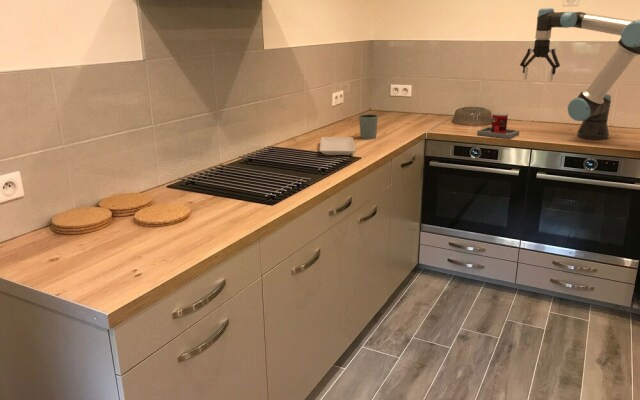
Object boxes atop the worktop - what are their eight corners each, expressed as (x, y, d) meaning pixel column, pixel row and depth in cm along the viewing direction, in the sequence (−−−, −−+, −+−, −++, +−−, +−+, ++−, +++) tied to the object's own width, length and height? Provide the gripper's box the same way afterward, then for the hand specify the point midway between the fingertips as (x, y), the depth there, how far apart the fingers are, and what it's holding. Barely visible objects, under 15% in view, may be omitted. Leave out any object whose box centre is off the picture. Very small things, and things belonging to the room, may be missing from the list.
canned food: (492, 131, 293) (493, 112, 289) (507, 133, 289) (509, 113, 286) (489, 134, 286) (491, 114, 283) (504, 135, 283) (506, 115, 279)
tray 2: (518, 135, 288) (519, 130, 287) (509, 139, 277) (510, 134, 277) (487, 131, 298) (487, 126, 298) (477, 135, 288) (477, 130, 287)
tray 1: (353, 143, 275) (353, 136, 274) (355, 157, 245) (355, 150, 244) (320, 143, 275) (320, 136, 274) (319, 157, 245) (319, 150, 244)
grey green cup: (378, 136, 289) (379, 114, 285) (375, 140, 280) (376, 117, 276) (360, 135, 292) (361, 113, 288) (357, 139, 282) (357, 116, 279)
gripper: (569, 39, 274) (564, 80, 281) (521, 38, 289) (517, 78, 296) (565, 39, 268) (559, 81, 275) (516, 39, 283) (512, 79, 290)
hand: (537, 80), depth 285 cm, fingers open, 13 cm apart
